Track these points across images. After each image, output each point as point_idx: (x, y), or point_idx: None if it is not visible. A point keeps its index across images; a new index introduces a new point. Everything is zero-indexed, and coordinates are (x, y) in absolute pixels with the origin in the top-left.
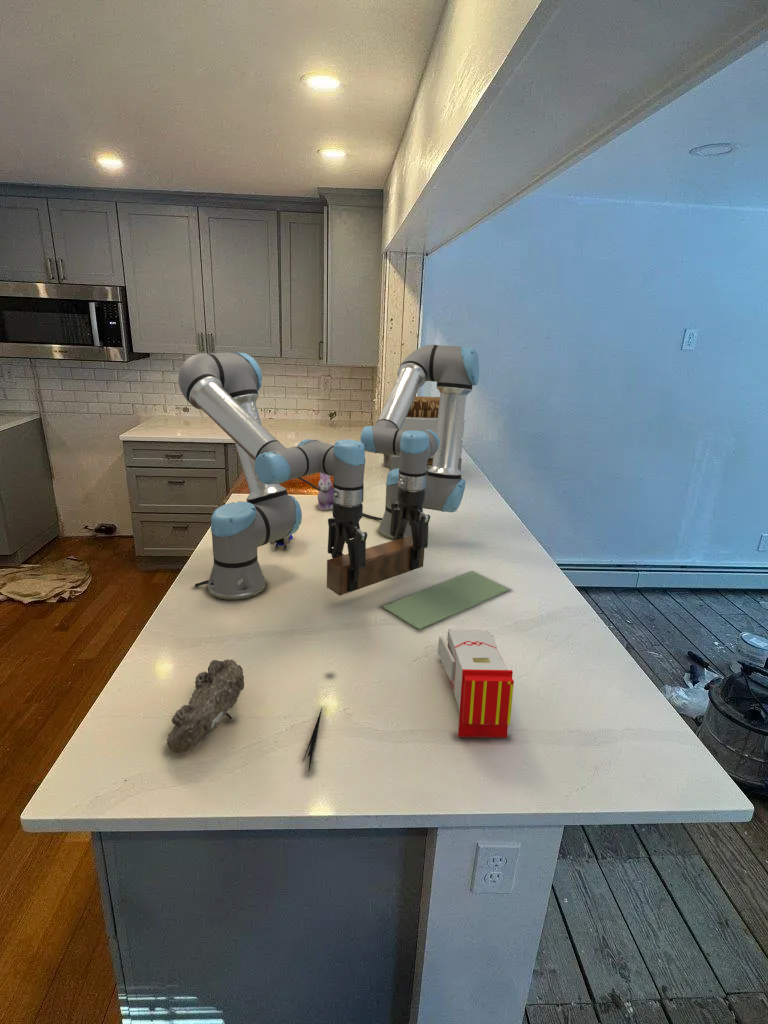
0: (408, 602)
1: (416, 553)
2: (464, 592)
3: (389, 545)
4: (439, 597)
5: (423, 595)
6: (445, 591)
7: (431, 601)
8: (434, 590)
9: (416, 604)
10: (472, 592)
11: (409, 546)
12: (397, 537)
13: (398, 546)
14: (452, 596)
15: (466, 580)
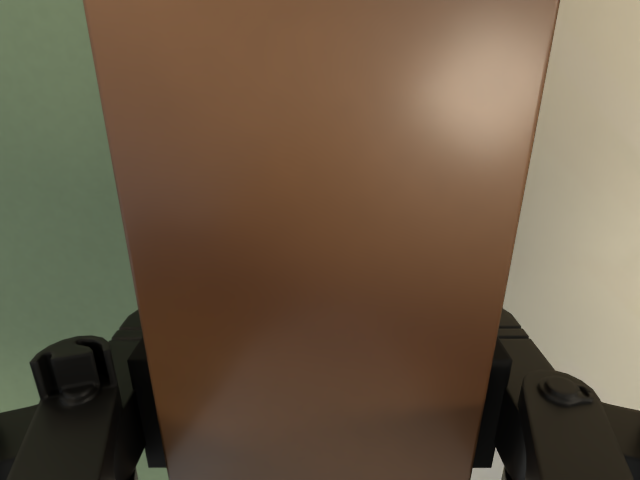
0: (52, 14)
1: (120, 351)
2: (29, 378)
3: (378, 60)
4: (30, 236)
5: (95, 174)
6: (82, 311)
7: (3, 160)
8: (121, 272)
9: (4, 44)
10: (12, 406)
11: (148, 352)
12: (525, 413)
13: (232, 192)
14: (12, 301)
15: (138, 464)
